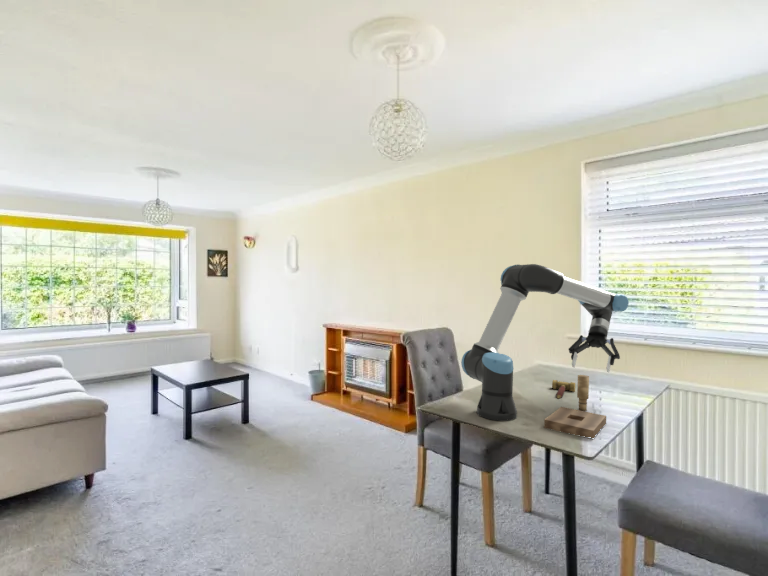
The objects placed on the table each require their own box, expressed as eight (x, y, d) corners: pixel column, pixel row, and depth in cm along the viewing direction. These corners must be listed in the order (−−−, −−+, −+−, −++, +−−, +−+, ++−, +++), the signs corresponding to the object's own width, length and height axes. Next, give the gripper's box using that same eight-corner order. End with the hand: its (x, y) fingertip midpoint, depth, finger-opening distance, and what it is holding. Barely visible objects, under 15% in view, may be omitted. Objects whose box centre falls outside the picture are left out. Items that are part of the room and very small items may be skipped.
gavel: (570, 394, 177) (546, 391, 183) (570, 404, 178) (546, 400, 183) (575, 381, 195) (553, 378, 200) (575, 390, 196) (553, 387, 201)
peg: (575, 409, 165) (576, 376, 164) (578, 407, 168) (579, 374, 168) (586, 412, 162) (587, 377, 162) (589, 409, 165) (590, 376, 165)
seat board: (544, 427, 144) (544, 419, 144) (561, 414, 159) (561, 406, 159) (593, 439, 133) (593, 430, 133) (606, 423, 149) (606, 415, 149)
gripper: (631, 338, 178) (624, 377, 166) (571, 332, 194) (561, 368, 182) (629, 327, 173) (622, 367, 162) (568, 322, 189) (558, 358, 178)
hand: (589, 368), depth 172 cm, fingers open, 13 cm apart
